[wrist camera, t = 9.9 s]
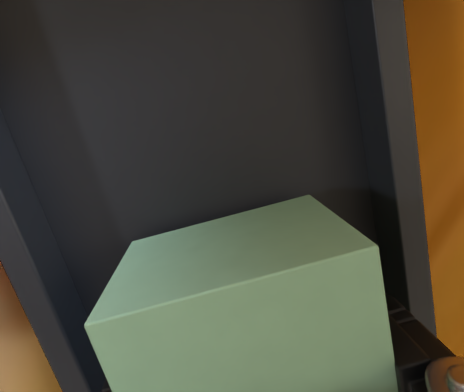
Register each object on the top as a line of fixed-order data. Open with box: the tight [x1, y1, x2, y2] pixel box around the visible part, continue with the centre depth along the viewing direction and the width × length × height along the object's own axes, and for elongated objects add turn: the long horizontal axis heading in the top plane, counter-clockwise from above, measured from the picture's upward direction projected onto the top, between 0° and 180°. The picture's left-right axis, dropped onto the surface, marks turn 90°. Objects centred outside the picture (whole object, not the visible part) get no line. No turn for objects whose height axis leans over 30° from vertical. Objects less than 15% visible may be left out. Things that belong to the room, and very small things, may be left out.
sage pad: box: [84, 195, 398, 392], centre depth 9 cm, size 6×8×4 cm
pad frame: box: [0, 0, 437, 392], centre depth 10 cm, size 12×19×2 cm, turn 14°
